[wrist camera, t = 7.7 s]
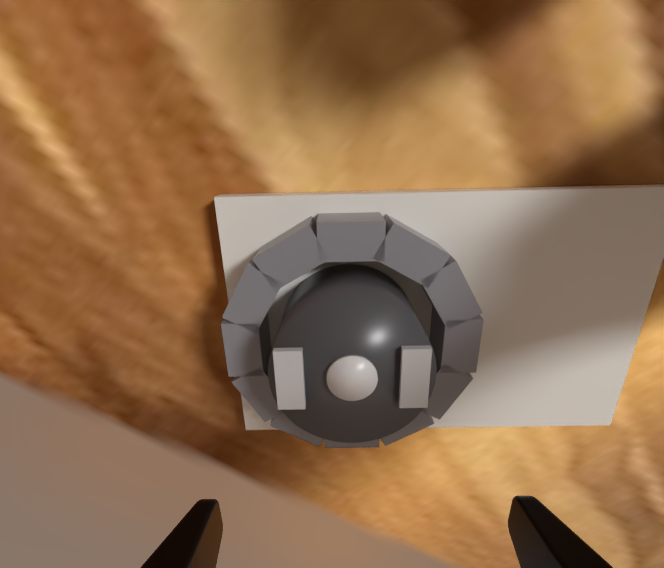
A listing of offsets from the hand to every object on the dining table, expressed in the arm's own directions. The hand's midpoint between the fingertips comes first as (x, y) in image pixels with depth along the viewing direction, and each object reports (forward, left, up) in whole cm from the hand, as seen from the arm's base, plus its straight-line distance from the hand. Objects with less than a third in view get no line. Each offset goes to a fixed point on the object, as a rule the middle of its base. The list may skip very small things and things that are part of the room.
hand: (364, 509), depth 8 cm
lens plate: (-4, 0, -10) cm, 11 cm away
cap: (0, 0, -9) cm, 9 cm away
